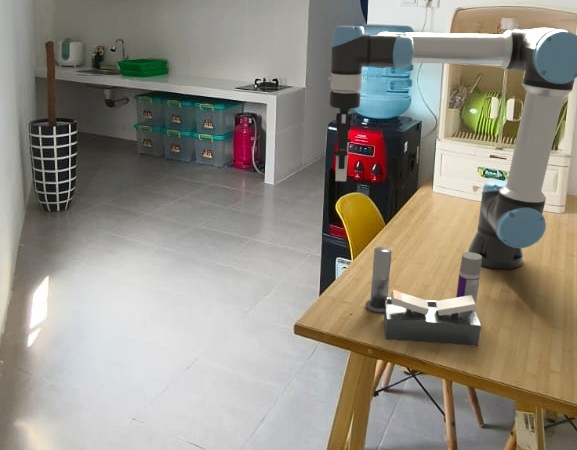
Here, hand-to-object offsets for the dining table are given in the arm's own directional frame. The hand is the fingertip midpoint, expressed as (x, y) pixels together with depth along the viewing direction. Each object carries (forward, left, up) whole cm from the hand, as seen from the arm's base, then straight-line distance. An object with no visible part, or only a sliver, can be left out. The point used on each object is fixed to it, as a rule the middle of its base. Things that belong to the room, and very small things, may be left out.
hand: (341, 173), depth 165 cm
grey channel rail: (-22, +32, -27) cm, 47 cm away
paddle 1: (-17, +32, -20) cm, 41 cm away
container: (-31, +21, -28) cm, 47 cm away
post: (-11, +21, -27) cm, 36 cm away
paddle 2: (-27, +32, -20) cm, 46 cm away
